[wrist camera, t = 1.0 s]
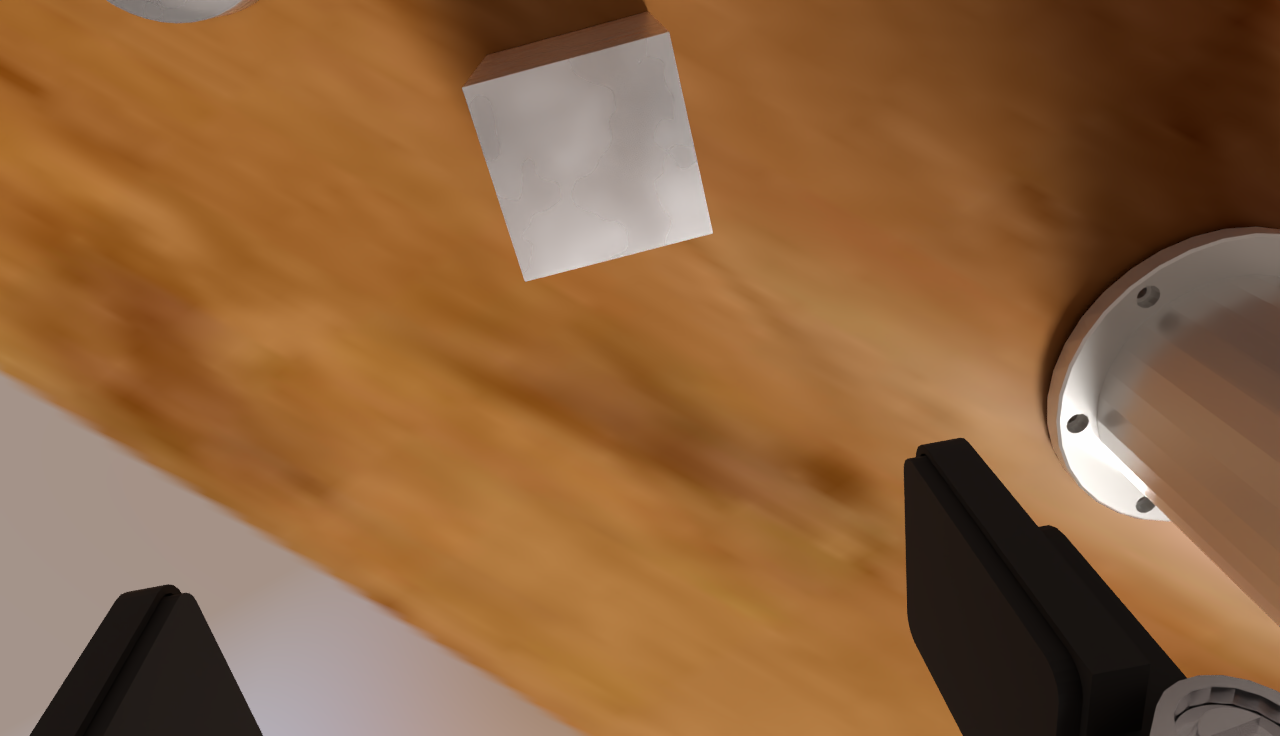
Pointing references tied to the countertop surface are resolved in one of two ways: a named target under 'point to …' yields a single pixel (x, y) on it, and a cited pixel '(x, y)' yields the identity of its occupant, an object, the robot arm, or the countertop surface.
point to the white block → (589, 145)
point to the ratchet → (181, 9)
